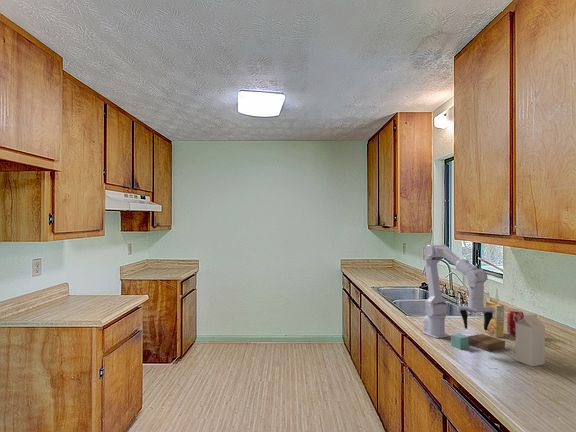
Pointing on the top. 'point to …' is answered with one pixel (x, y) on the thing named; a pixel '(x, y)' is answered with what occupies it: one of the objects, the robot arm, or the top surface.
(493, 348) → the walnut block
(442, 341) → the top surface
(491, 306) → the candy box
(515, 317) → the soda can
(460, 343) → the teal cube
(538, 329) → the milk carton
